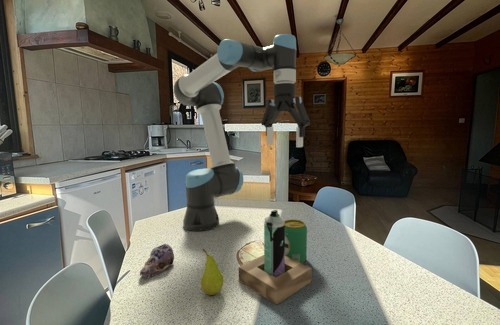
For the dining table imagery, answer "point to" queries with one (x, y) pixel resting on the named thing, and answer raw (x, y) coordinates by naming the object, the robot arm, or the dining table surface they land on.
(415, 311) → the dining table surface
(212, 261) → the fruit
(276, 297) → the hole block
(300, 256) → the beverage can
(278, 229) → the spray can
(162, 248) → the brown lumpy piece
